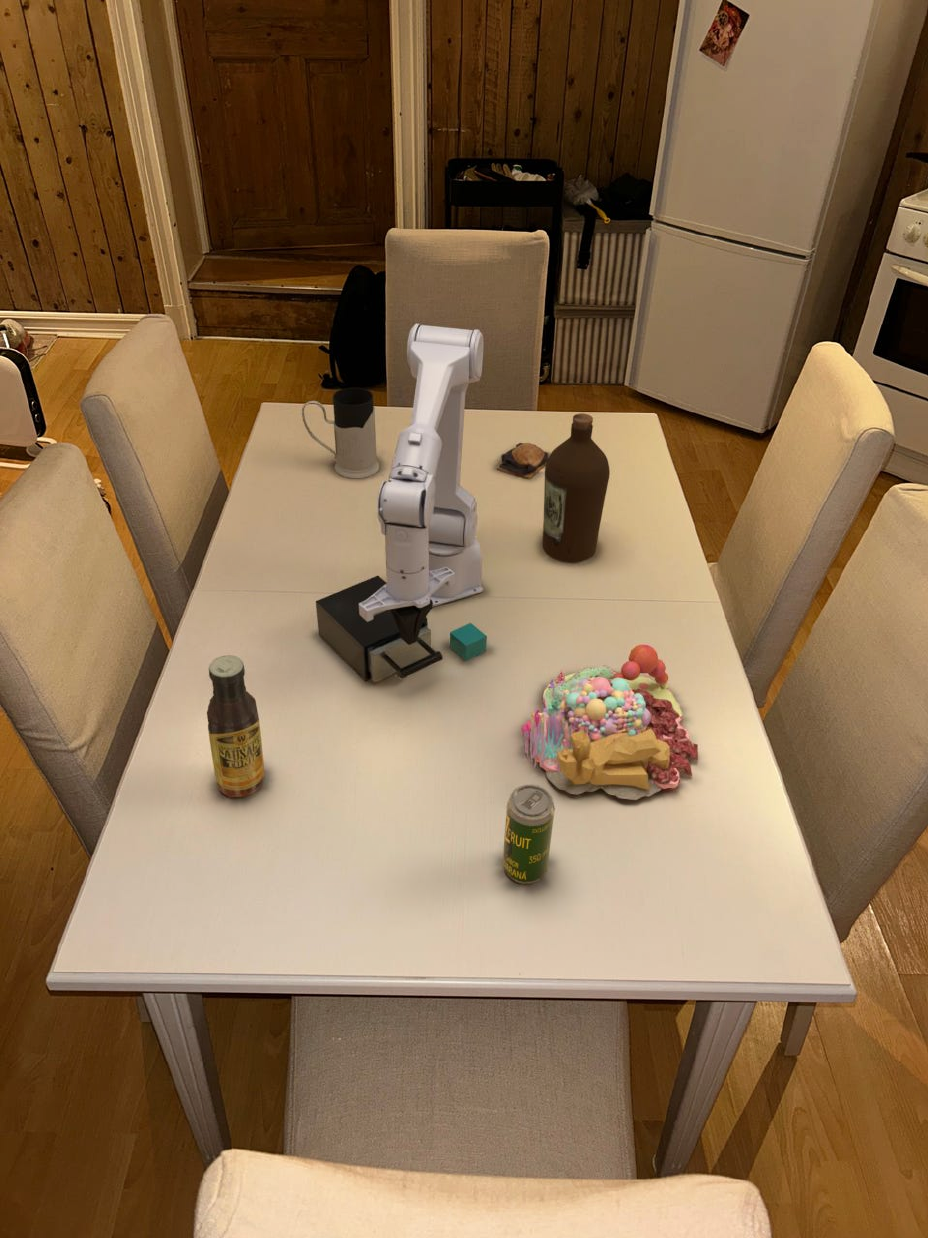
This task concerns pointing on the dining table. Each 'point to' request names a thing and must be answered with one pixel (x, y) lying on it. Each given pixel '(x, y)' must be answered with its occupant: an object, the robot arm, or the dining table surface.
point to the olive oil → (574, 494)
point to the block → (468, 641)
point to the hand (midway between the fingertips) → (408, 639)
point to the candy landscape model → (612, 730)
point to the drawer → (401, 656)
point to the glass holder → (352, 432)
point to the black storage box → (354, 624)
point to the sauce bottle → (234, 730)
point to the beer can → (528, 833)
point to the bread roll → (523, 460)
